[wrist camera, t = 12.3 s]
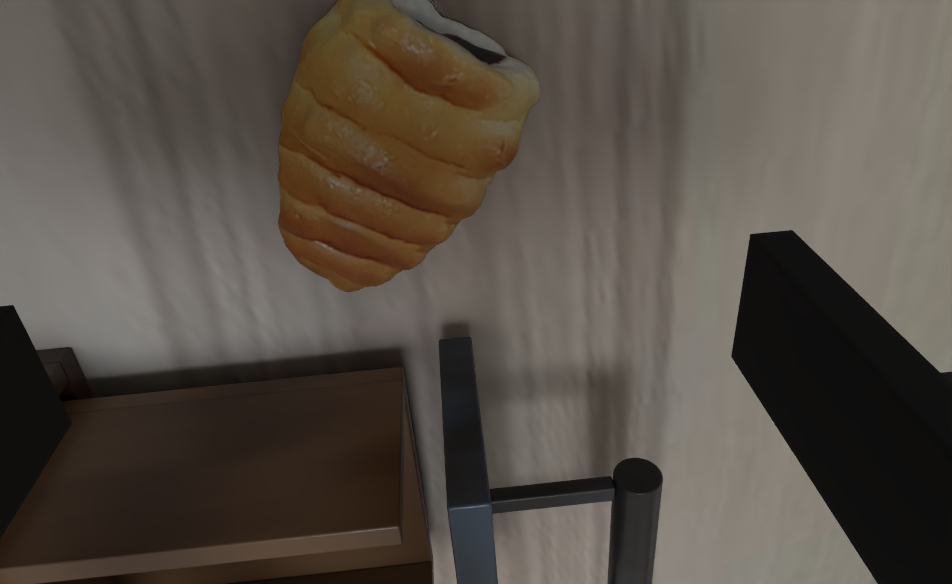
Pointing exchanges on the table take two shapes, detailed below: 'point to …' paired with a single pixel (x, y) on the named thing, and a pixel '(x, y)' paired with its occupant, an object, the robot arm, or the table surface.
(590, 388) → the table surface
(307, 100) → the pastry
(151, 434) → the drawer
